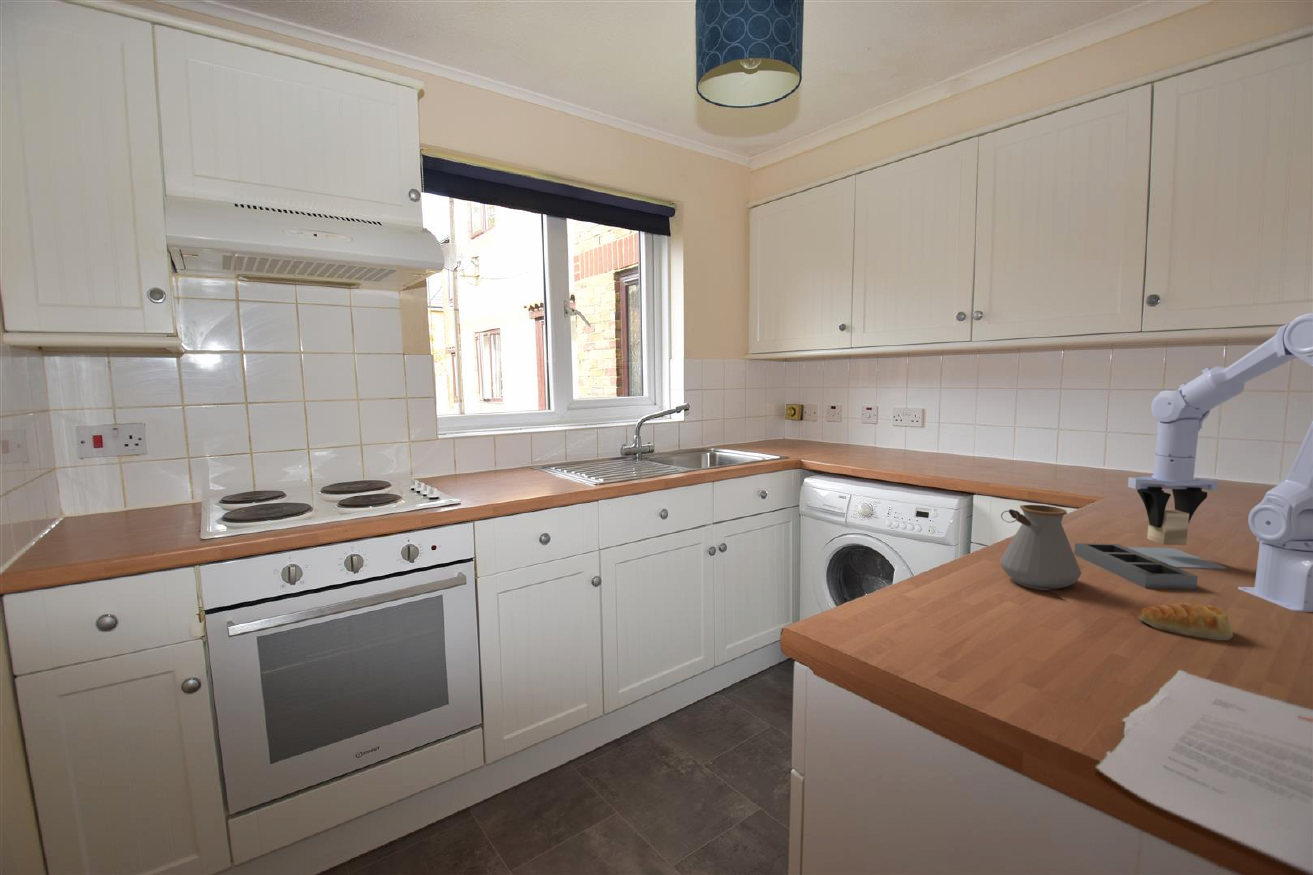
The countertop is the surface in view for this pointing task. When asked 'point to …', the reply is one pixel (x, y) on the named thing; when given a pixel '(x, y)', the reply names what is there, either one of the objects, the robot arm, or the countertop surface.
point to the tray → (1136, 566)
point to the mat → (1177, 558)
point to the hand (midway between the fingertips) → (1168, 526)
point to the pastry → (1189, 620)
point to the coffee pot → (1040, 550)
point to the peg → (1171, 528)
